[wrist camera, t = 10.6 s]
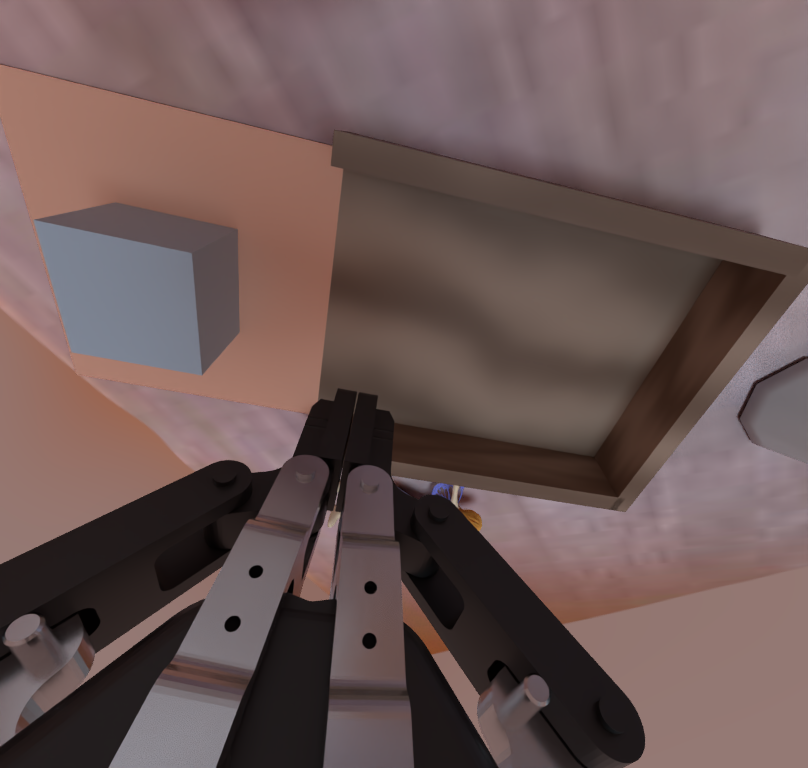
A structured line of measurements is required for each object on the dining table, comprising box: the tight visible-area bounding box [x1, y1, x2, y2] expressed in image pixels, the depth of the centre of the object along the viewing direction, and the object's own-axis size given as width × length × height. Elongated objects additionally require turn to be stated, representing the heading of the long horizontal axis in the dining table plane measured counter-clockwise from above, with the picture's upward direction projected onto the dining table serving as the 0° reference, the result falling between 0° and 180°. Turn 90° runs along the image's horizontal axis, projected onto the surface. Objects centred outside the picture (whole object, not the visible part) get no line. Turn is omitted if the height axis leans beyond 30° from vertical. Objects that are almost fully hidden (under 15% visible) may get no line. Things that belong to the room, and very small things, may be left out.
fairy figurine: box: [328, 482, 482, 531], centre depth 30 cm, size 12×5×12 cm
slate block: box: [33, 202, 240, 375], centre depth 19 cm, size 6×6×5 cm
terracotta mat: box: [0, 64, 343, 414], centre depth 21 cm, size 16×16×1 cm
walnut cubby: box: [318, 130, 808, 512], centre depth 22 cm, size 17×22×4 cm
